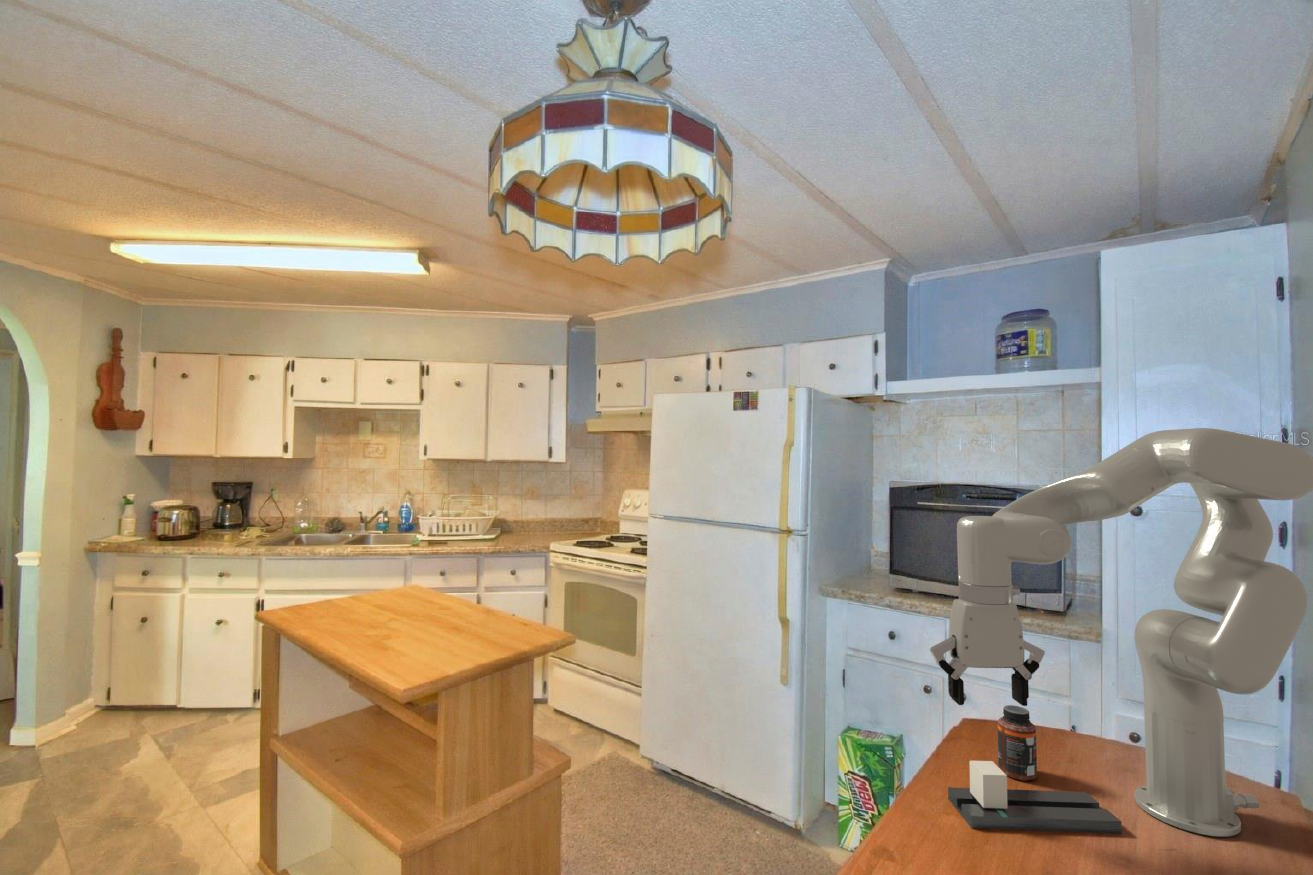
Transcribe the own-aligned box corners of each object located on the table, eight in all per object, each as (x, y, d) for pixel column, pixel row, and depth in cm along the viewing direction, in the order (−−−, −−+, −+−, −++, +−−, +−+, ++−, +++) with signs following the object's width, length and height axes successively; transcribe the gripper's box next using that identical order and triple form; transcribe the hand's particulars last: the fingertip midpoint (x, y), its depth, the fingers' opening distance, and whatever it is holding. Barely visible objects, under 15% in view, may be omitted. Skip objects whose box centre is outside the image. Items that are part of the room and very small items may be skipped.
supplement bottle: (1043, 784, 103) (1041, 717, 103) (1005, 780, 104) (1004, 714, 104) (1029, 766, 109) (1027, 703, 109) (993, 763, 110) (992, 701, 110)
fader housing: (1085, 803, 97) (1085, 791, 97) (1121, 833, 89) (1121, 820, 89) (948, 798, 98) (948, 786, 98) (971, 827, 90) (971, 815, 90)
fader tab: (992, 800, 96) (992, 761, 96) (1007, 816, 92) (1006, 775, 92) (970, 799, 96) (969, 760, 97) (983, 815, 92) (982, 774, 92)
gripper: (1026, 588, 99) (1030, 693, 98) (920, 588, 100) (923, 692, 99) (1054, 599, 91) (1059, 712, 91) (939, 598, 92) (943, 711, 91)
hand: (988, 702), depth 95 cm, fingers open, 9 cm apart
